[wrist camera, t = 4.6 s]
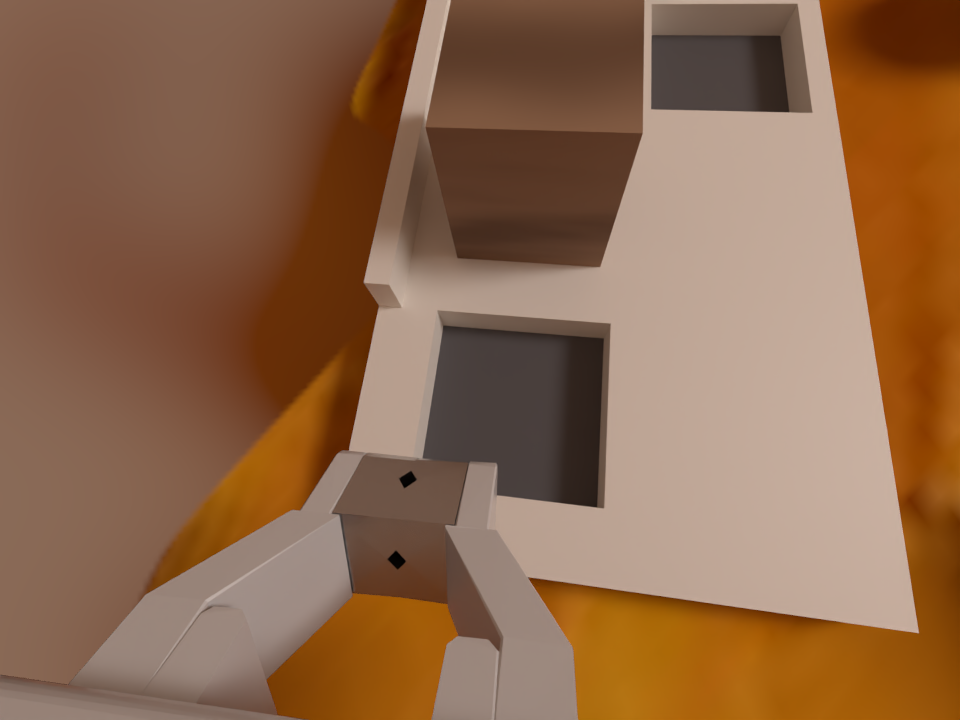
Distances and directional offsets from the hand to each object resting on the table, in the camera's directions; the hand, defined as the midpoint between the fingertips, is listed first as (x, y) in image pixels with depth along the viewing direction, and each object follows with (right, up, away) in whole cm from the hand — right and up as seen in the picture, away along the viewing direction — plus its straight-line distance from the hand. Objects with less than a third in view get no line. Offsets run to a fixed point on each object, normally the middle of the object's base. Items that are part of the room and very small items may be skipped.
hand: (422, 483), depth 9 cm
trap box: (+7, +11, +14) cm, 19 cm away
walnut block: (+3, +9, +11) cm, 15 cm away
